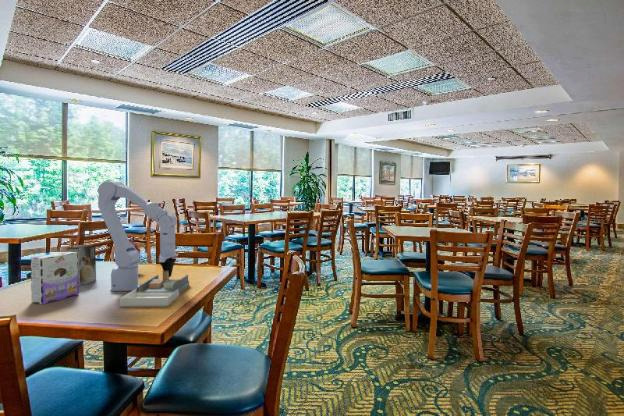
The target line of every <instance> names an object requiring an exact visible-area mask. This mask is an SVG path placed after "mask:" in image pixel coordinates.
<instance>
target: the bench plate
mask: <svg viewBox="0 0 624 416" xmlns="http://www.w3.org/2000/svg"><path fill="white" fill-rule="evenodd" d="M153 279H159V274H155V275H153V276H152V277H150V278H149V279H147V280H145V281H144V282H142V283H141V284H139V285H140V287H139V291H138V293H144V292H174V291H176V290H177V289H179V295H180V294H181V293H182V292H183V291H185V290H186V289H187V288H188V287H189V286H190V280H189V274H185V275H184V276H183V277H182V278H180V280H179V281H177V282H176V283H175V284H173V288H164V284H163V286H162V287H161V288H149V283H150V282H151V280H153Z"/></svg>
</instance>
